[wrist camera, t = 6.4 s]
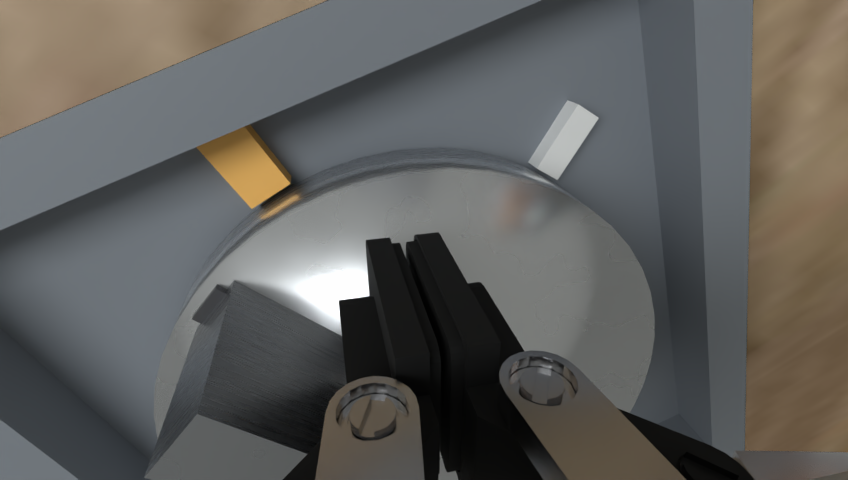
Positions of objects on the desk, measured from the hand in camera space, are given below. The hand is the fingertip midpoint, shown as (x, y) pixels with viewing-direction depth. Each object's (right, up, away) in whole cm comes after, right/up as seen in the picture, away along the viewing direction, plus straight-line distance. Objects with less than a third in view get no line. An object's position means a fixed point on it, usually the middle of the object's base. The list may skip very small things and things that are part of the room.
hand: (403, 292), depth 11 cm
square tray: (0, -2, +6) cm, 7 cm away
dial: (0, -3, +5) cm, 6 cm away
